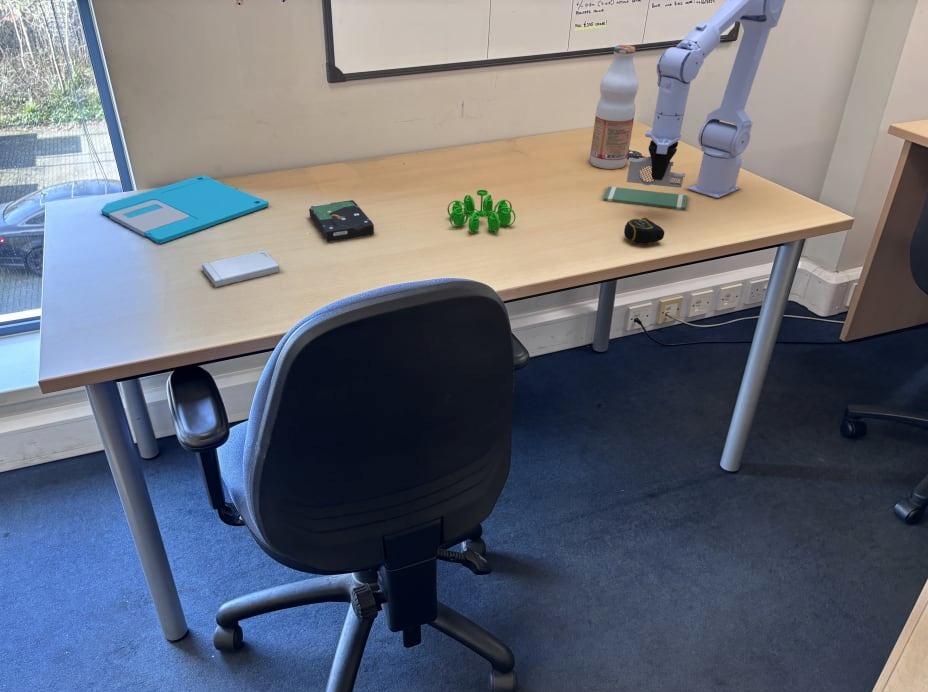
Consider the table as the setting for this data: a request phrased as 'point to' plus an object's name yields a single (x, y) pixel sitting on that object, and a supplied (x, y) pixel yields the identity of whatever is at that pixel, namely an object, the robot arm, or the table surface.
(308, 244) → the table surface
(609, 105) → the fruit juice
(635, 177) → the lattice window wall
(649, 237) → the tape measure
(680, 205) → the towel
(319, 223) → the disk drive
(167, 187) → the floppy disk
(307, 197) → the table surface
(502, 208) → the chandelier
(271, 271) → the hard drive
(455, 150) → the table surface
